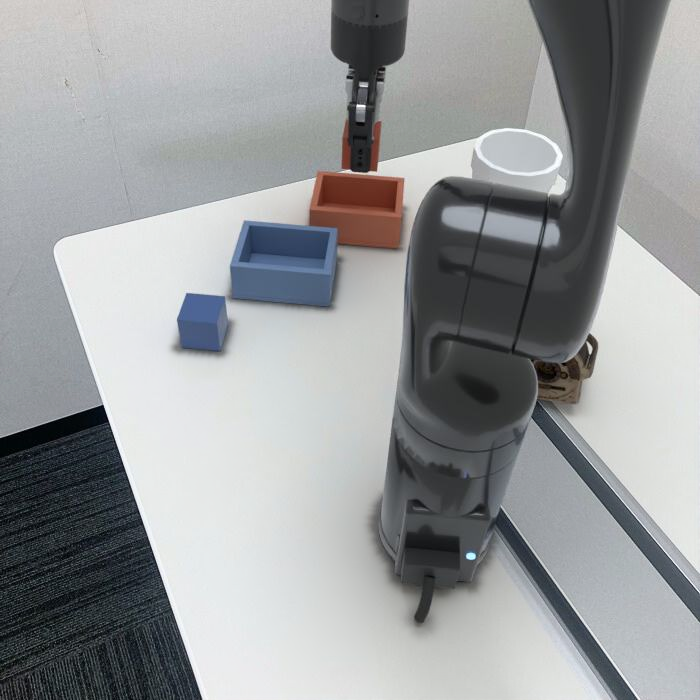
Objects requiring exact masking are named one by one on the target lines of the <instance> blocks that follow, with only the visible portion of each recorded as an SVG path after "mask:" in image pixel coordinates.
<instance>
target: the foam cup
mask: <svg viewBox="0 0 700 700" xmlns="http://www.w3.org/2000/svg"><path fill="white" fill-rule="evenodd" d="M563 157H564V154H563V153H562V151H561V149H560V147H559V146H558V144H557V143H555V142H554V141H553V140H551V139H550V138H548V137H547V136H545V135H543V134H540V133H538V132H534V131H531V130H528V129H523V128H522V129H521V128H513V127H511V128H510V127H505V128H498V129H492V130H489V131H487V132H485V133H484V134H482V135H480V136H478V137H477V140H476V142H475V144H474V145H473V151H472V156H471V161H470V168H471V175H472V176H471V178H472V179H477V180H482V181H487V182H493V183H494V184H495V183H497V184H503V185H508V186H513V187H518V188H524V189H529V190H534V191H539V192H545V193H548V195H550V192H551V189H552V187H553V186H555V185H556V181H557V178H558V175H559V172H560V168H561V164H562V160H563Z"/></svg>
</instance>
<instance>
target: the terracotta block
mask: <svg viewBox="0 0 700 700" xmlns="http://www.w3.org/2000/svg"><path fill="white" fill-rule="evenodd" d="M382 124H383V123H382V121H381V120H378V122H377V123H375V124H374V131H373V136H374V141H373V145H372V147H371V163H370V171H369V172H376V173H377V172H378V168H379V167H378V166H379V159H380V150H381V149H380V148H381V137H382V135H381V134H382ZM341 138H342V139H341V170H350V158H351V146H348V143H347V139H348V120H347V118H345V123H344V127H343V132H342V137H341ZM350 171H351V170H350Z"/></svg>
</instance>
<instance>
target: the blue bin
mask: <svg viewBox="0 0 700 700" xmlns="http://www.w3.org/2000/svg"><path fill="white" fill-rule="evenodd" d="M237 238H238V239H237V242H236V244H235V248H234V251H233V254H232V258H231V260H230V263H229V271H230V273H229V274H230V282H231V291H232V298H233V299H237V300H238V299H240V300H250V301H261V302H273V303H274V302H275V303H283V304H284V303H285V304H296V305H306V306H307V305H308V306H318V307H328V308H329V307H330V306H331V300H332V295H333V289H334V288H333V286H334V280H335V275H336V268H337V263H338V262H337V261H338V243H337V242H338V228H328V227H316V226H309V225H304V224H291V223H289V224H288V223H280V222H268V221H258V220H257V221H256V220H243V222H242V225H241V228H240V232H239V235H238V237H237Z"/></svg>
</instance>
